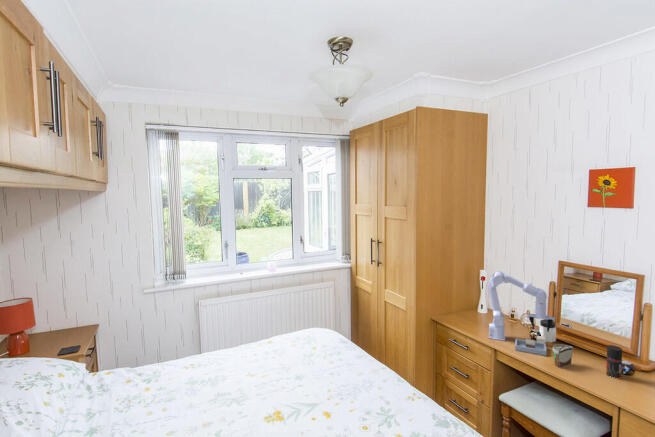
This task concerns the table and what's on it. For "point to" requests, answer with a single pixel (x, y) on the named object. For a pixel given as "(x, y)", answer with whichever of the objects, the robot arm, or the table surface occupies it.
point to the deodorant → (614, 361)
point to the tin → (530, 343)
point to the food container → (562, 355)
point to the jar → (549, 335)
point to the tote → (539, 348)
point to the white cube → (541, 339)
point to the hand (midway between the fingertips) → (540, 330)
